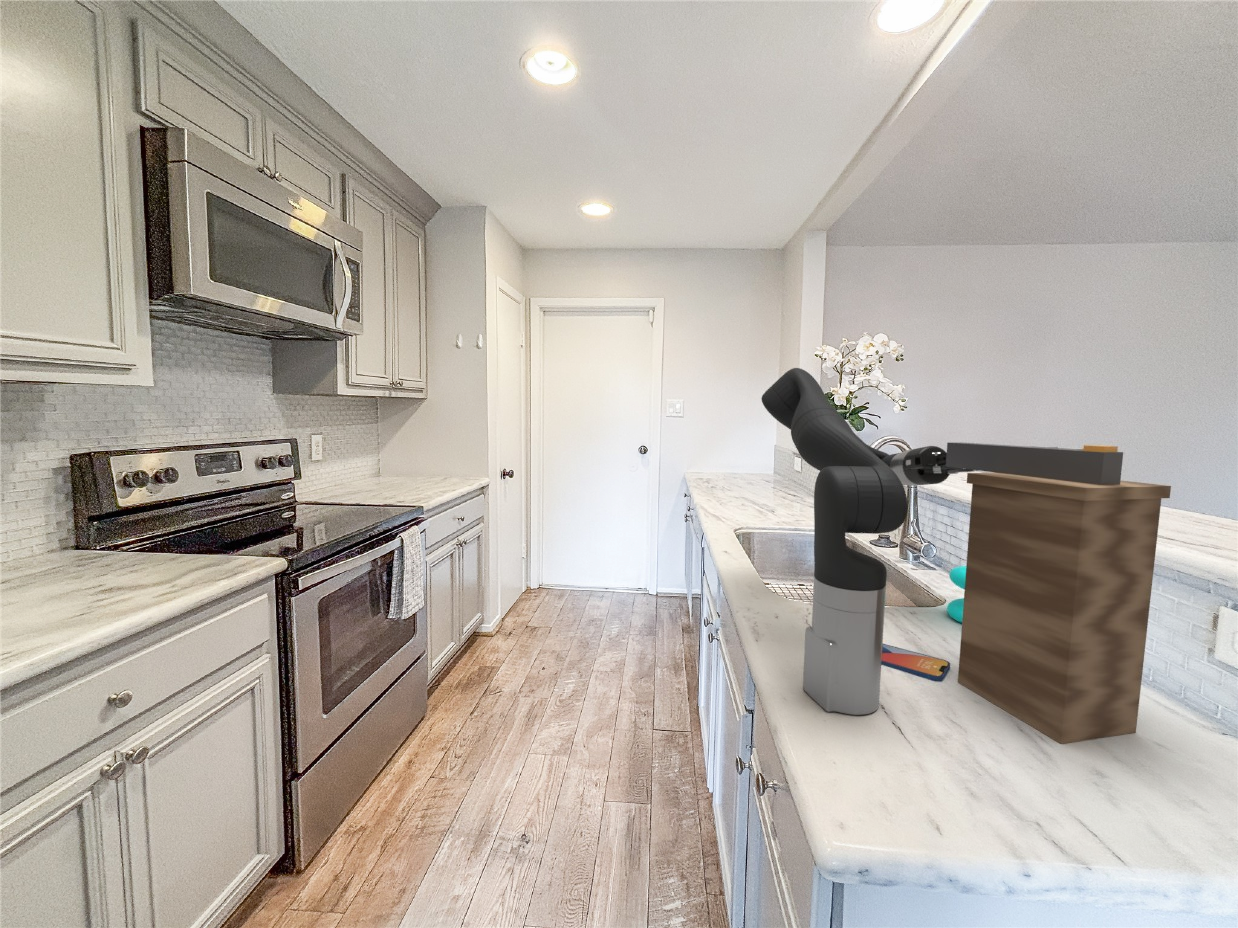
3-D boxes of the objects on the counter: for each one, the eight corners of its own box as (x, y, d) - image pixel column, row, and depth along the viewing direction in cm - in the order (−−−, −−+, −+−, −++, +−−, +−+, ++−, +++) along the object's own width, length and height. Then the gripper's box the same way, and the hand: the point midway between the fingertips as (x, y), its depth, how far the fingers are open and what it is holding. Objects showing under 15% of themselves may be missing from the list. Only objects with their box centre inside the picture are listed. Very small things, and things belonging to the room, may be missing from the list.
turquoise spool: (1011, 583, 94) (946, 572, 100) (1006, 635, 95) (943, 621, 101) (1012, 570, 102) (953, 561, 108) (1008, 619, 102) (949, 607, 109)
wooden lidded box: (1061, 746, 63) (1086, 488, 60) (952, 680, 78) (967, 472, 75) (1143, 734, 65) (1171, 485, 62) (1021, 672, 81) (1039, 471, 78)
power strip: (1100, 484, 63) (1104, 446, 62) (945, 466, 85) (947, 438, 85) (1120, 484, 63) (1123, 446, 63) (960, 466, 86) (962, 438, 85)
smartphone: (854, 641, 93) (855, 635, 93) (951, 667, 83) (951, 661, 83) (839, 654, 88) (839, 648, 88) (940, 685, 78) (941, 678, 77)
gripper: (884, 447, 104) (939, 435, 88) (951, 449, 105) (1018, 438, 89) (885, 484, 103) (941, 479, 87) (953, 485, 104) (1020, 481, 88)
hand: (980, 458), depth 88 cm, fingers open, 8 cm apart
